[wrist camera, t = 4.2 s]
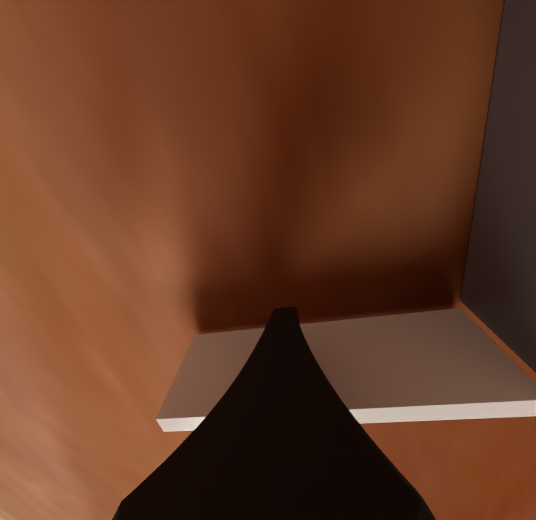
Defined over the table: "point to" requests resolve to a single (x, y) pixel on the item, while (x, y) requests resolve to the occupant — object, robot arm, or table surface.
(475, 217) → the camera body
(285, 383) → the robot arm
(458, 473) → the table surface
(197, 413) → the side door
